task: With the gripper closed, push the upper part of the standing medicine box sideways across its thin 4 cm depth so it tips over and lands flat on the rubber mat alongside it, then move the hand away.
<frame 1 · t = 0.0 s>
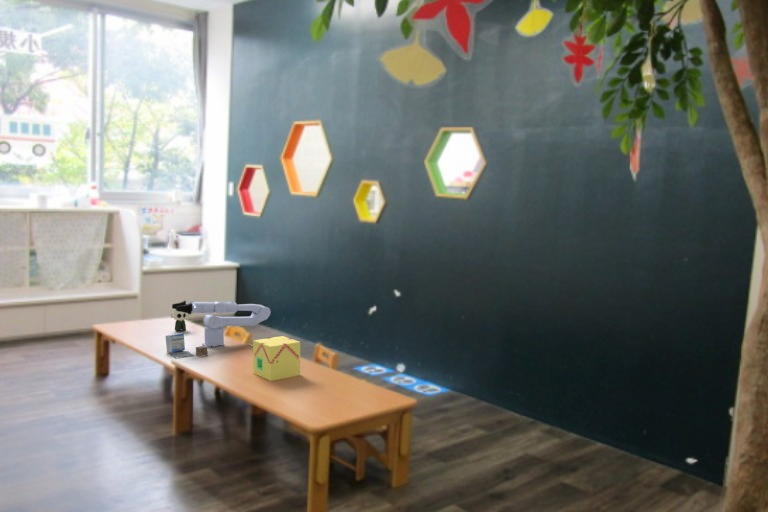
hand: (174, 307, 327), 22 cm above the table, tool horizontal, fingers open, 7 cm apart
medicine box: (176, 351, 325), on the table, touching mat
toy block: (276, 374, 287), on the table
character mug: (180, 330, 374), on the table
walnut block: (201, 355, 319), on the table
mat: (181, 354, 318), on the table
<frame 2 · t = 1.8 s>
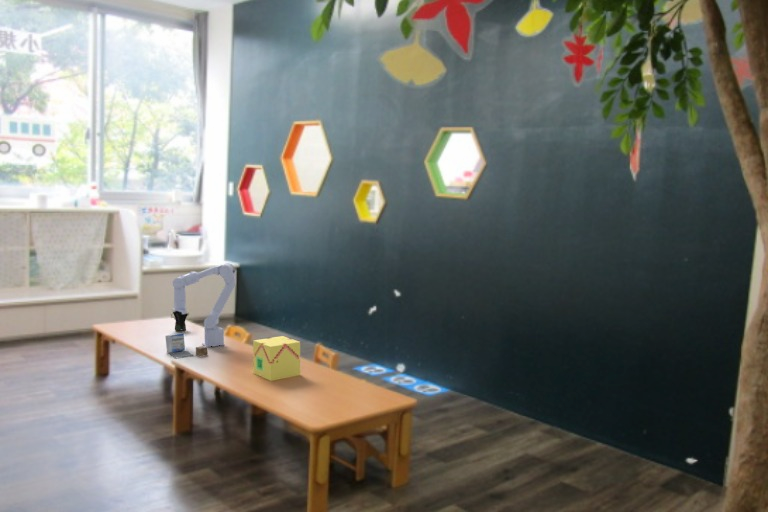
hand: (180, 325, 338), 10 cm above the table, tool pointing down, fingers open, 5 cm apart
nothing on the table moved.
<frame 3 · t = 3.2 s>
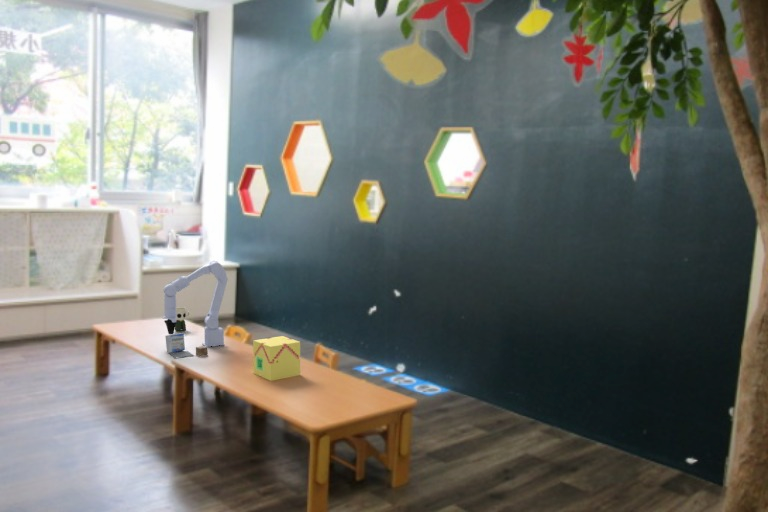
hand: (170, 333, 331), 7 cm above the table, tool pointing down, fingers closed
nothing on the table moved.
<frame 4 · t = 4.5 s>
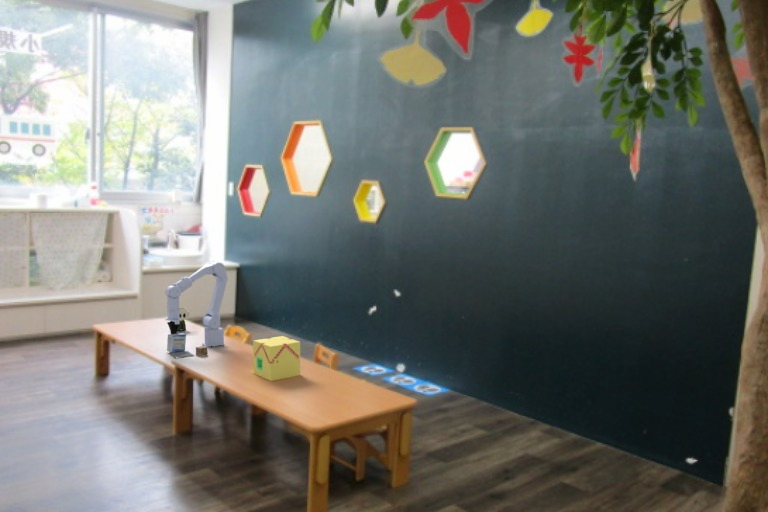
hand: (173, 335, 327), 7 cm above the table, tool pointing down, fingers closed
medicine box: (175, 351, 325), on the table, touching gripper, mat
everything else where it was.
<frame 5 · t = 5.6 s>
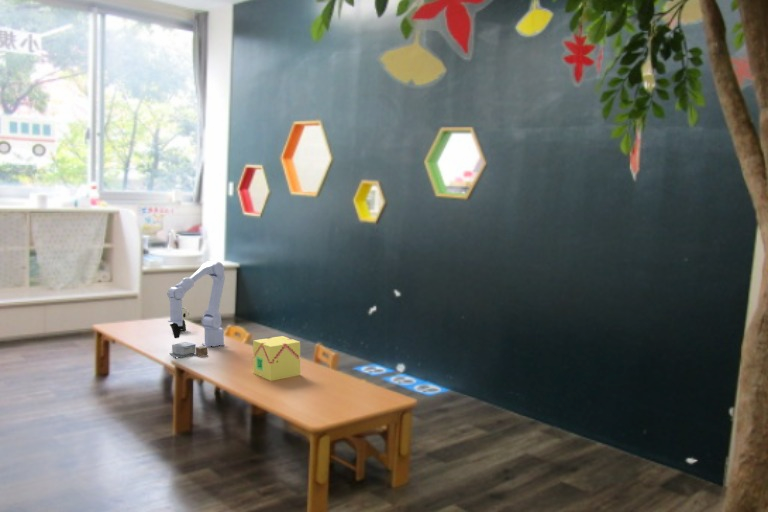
hand: (176, 337, 322), 7 cm above the table, tool pointing down, fingers closed
medicine box: (178, 347, 323), point 3 cm above the table, touching mat
everything else where it was.
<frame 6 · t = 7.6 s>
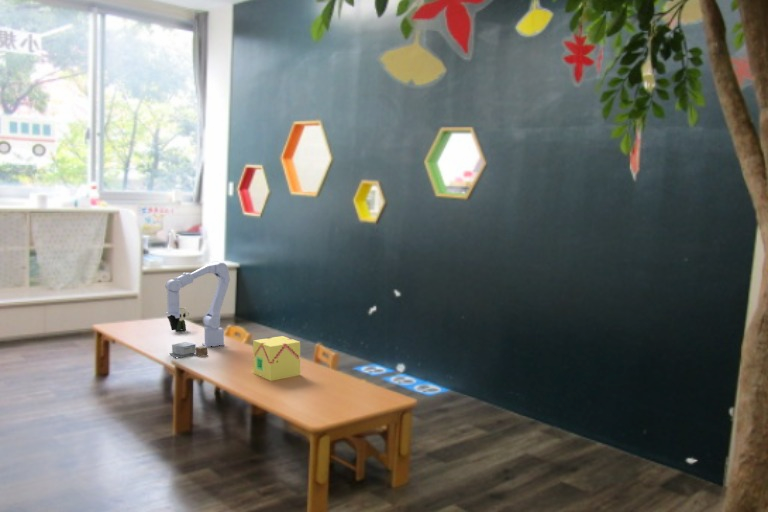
hand: (174, 329, 327), 10 cm above the table, tool pointing down, fingers closed
nothing on the table moved.
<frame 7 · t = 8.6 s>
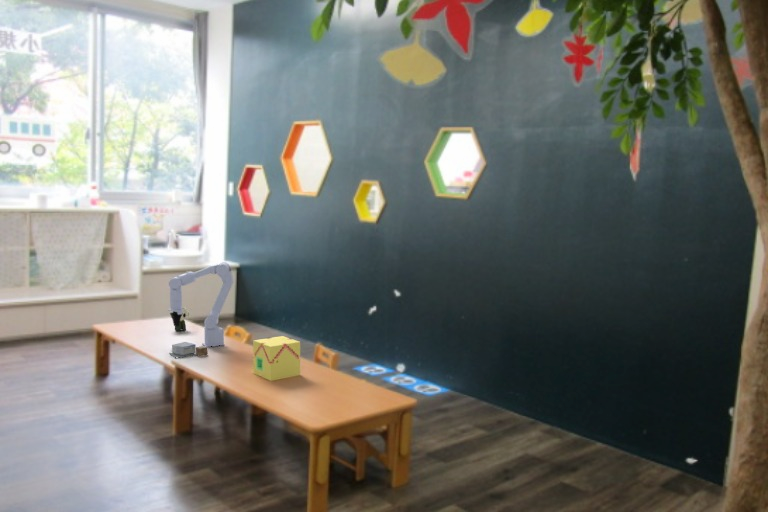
hand: (176, 326, 337), 10 cm above the table, tool pointing down, fingers closed
nothing on the table moved.
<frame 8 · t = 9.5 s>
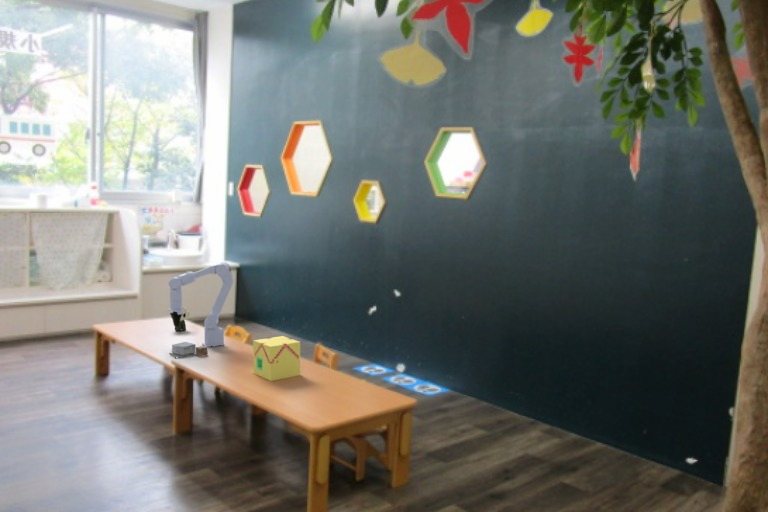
hand: (176, 326, 337), 10 cm above the table, tool pointing down, fingers closed
nothing on the table moved.
at the end: medicine box tilted 90°; medicine box 6.1 cm from the mat (horizontally); medicine box point 2.6 cm above the table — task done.
